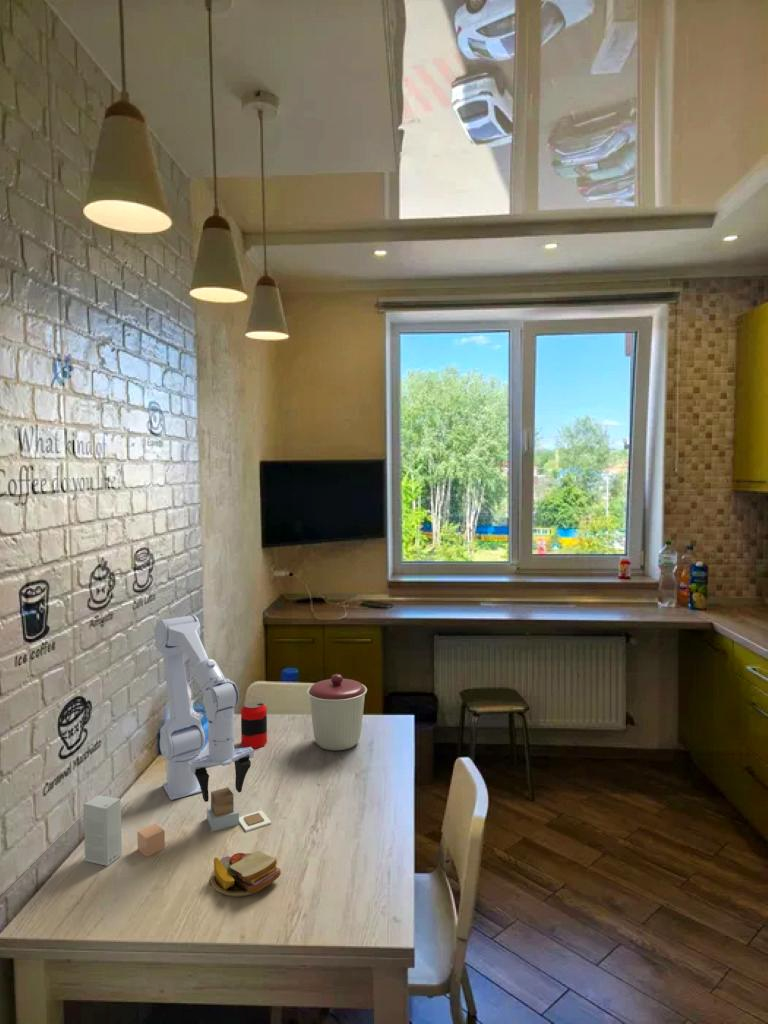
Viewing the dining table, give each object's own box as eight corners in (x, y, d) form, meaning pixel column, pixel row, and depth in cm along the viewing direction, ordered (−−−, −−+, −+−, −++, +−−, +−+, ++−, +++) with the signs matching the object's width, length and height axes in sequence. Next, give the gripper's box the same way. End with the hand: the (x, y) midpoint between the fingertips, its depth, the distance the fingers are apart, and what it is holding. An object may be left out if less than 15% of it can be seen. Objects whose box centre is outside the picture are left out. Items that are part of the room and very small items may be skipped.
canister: (315, 730, 188) (315, 664, 187) (371, 733, 185) (371, 666, 184) (300, 755, 170) (299, 682, 169) (361, 758, 167) (361, 685, 166)
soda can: (264, 749, 174) (263, 708, 174) (238, 749, 174) (238, 709, 174) (269, 738, 182) (268, 700, 181) (245, 738, 182) (244, 700, 181)
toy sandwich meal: (259, 851, 124) (258, 829, 124) (290, 884, 114) (289, 860, 113) (201, 875, 117) (200, 851, 117) (228, 913, 106) (227, 887, 106)
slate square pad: (207, 820, 137) (206, 807, 137) (232, 813, 139) (232, 800, 139) (212, 833, 131) (212, 819, 131) (239, 825, 134) (238, 812, 134)
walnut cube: (211, 808, 136) (210, 791, 136) (228, 804, 138) (228, 787, 138) (216, 816, 132) (215, 799, 132) (233, 811, 135) (233, 794, 134)
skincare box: (122, 855, 123) (121, 798, 123) (107, 867, 119) (105, 808, 119) (100, 849, 125) (98, 793, 125) (83, 861, 121) (82, 804, 121)
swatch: (237, 819, 136) (237, 816, 136) (261, 811, 139) (261, 808, 139) (245, 831, 131) (245, 828, 131) (271, 823, 134) (271, 820, 134)
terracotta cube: (137, 849, 125) (137, 831, 125) (155, 841, 128) (155, 823, 128) (146, 857, 122) (146, 838, 122) (164, 848, 125) (164, 830, 125)
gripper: (193, 750, 128) (194, 812, 128) (258, 735, 135) (258, 793, 136) (185, 739, 134) (186, 798, 134) (247, 725, 141) (248, 781, 142)
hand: (222, 795), depth 135 cm, fingers open, 7 cm apart
